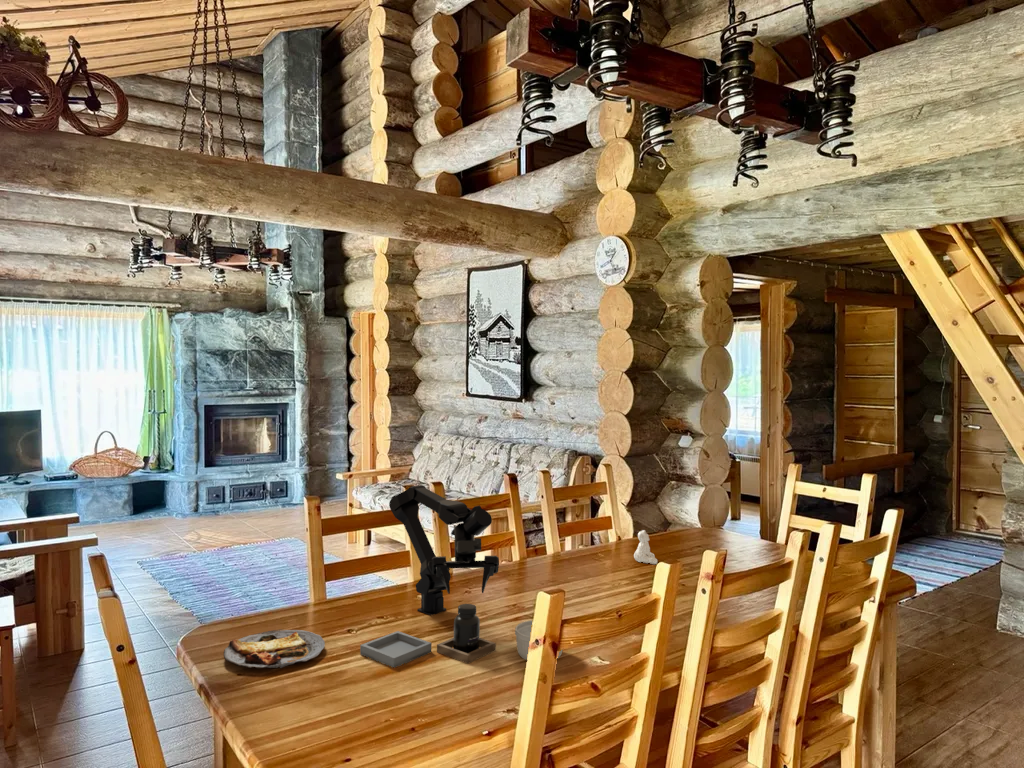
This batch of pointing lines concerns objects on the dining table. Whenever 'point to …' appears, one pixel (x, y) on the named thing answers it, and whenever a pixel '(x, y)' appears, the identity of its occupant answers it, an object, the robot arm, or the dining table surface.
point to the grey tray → (395, 649)
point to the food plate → (273, 648)
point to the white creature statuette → (644, 549)
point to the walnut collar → (462, 656)
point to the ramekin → (524, 638)
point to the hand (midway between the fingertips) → (465, 592)
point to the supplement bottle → (466, 629)
